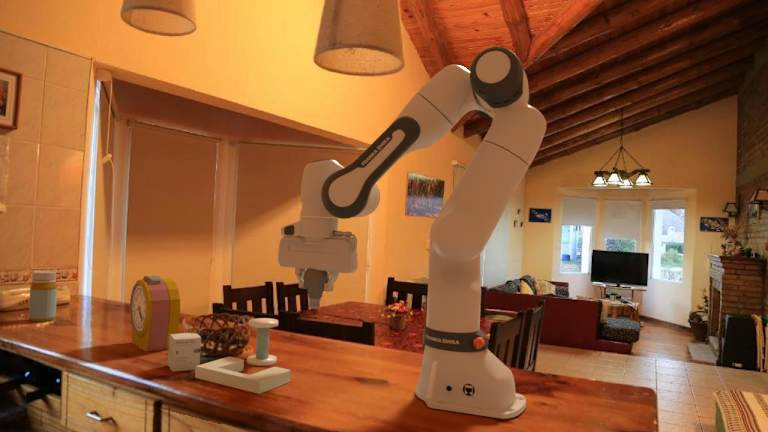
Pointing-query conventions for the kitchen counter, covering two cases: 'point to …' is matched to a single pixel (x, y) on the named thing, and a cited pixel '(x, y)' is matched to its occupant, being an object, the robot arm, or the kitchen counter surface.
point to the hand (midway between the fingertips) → (315, 289)
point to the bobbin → (262, 342)
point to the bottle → (43, 296)
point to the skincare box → (184, 351)
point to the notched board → (242, 375)
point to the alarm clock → (154, 312)
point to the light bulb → (315, 285)
